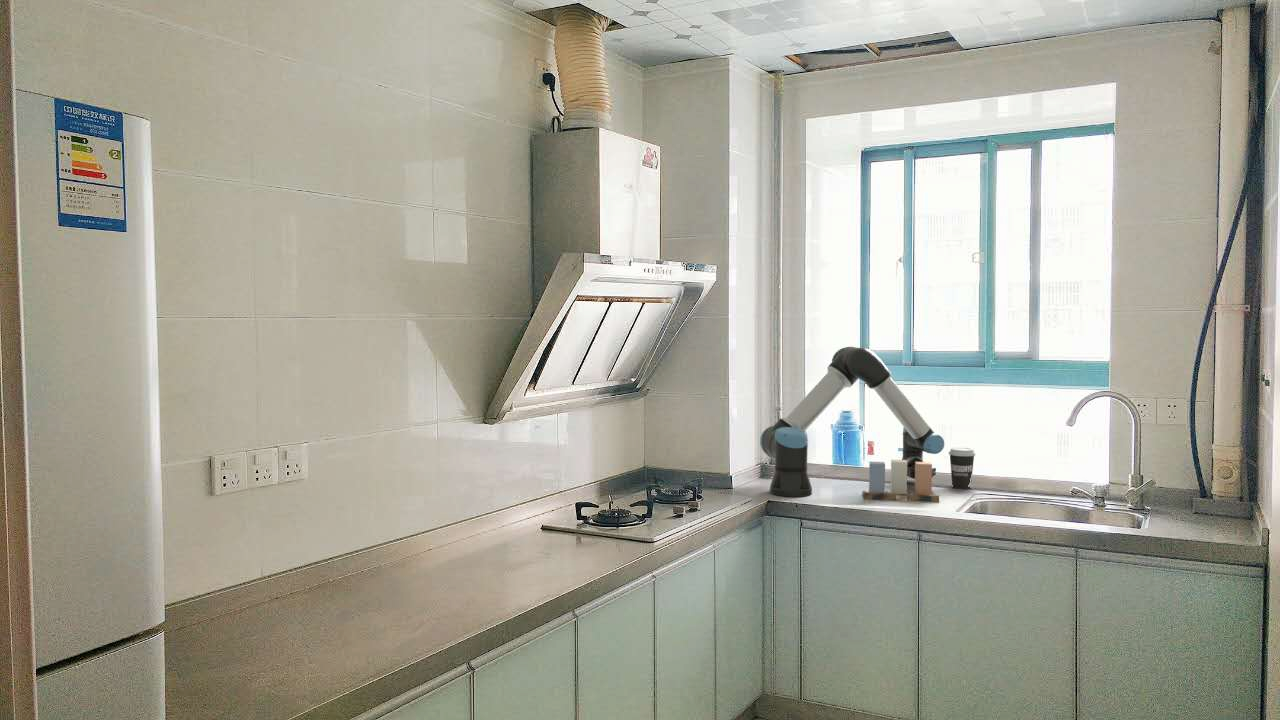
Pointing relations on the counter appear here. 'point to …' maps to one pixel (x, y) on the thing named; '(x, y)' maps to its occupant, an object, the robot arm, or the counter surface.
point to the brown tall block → (923, 478)
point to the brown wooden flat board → (900, 497)
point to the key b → (899, 476)
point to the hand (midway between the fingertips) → (924, 478)
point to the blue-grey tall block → (876, 477)
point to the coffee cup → (961, 466)
